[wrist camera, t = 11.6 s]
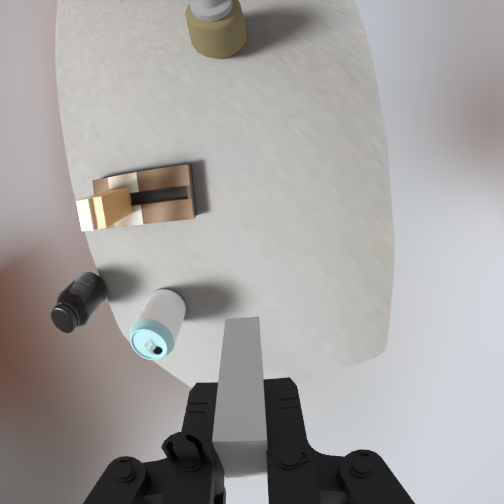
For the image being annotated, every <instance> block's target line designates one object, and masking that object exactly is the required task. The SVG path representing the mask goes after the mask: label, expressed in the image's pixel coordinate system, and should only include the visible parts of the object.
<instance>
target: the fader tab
mask: <svg viewBox="0 0 504 504" xmlns="http://www.w3.org/2000/svg"><path fill="white" fill-rule="evenodd" d="M76 203H77V209H78V215H79V220H80V225H81V230H82V231H87V230H90V231H94V230H95V229H102V228H107V227H109V226H111V225H112V224H114V223H116V222H117V221H119V220H121V219H123V218H124V217H126V216H128V215H129V214H131V213H132V206H131V203H132V200H131V195H130V192H129V187H126V188H120V189H114V190H108V191H104V192H101V193H98V194H95V195H92V196H90V197H87V198H84V199H81V200H78V201H76Z"/></svg>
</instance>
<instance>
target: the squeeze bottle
mask: <svg viewBox="0 0 504 504" xmlns="http://www.w3.org/2000/svg"><path fill="white" fill-rule="evenodd" d="M186 18H187V24H188V28H189V32H190V37H191V41H192V45H193V46H194V48H195V49H196V50H197V52H199V53H201V54H203V55H204V56H206V57H211V58H217V59H222V58H228V57H230V56H232V55H233V54H235V53H236V52H238V51H239V50H240V49H241V48H242V47H243V45H244V44H245V43H246V39H247V36H248V33H247V28H246V24H245V20H244V17H243V13H242V10H241V6H240V3H239V1H238V0H190V4H189V5H188V8H187V10H186Z"/></svg>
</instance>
